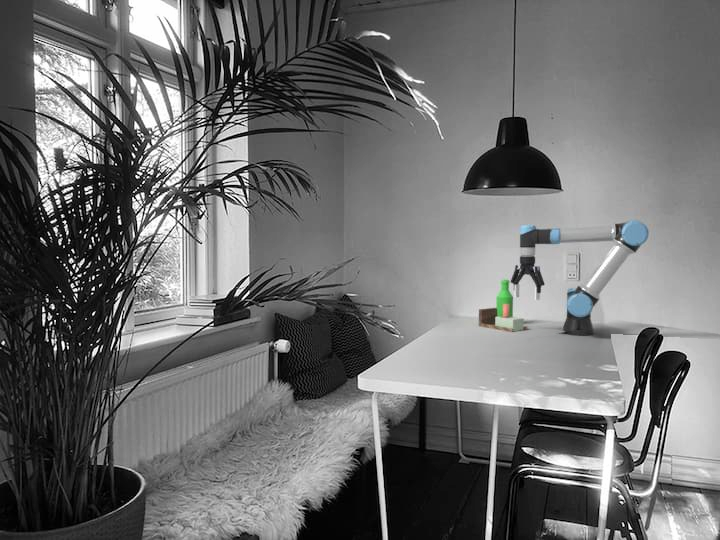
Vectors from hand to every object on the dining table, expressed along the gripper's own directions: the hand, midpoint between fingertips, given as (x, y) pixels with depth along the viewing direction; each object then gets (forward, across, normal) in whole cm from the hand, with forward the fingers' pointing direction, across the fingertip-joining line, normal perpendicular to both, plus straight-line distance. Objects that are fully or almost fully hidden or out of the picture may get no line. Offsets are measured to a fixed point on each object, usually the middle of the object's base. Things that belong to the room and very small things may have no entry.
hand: (526, 298), depth 321 cm
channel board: (+18, +16, 0) cm, 24 cm away
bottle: (+18, +28, -14) cm, 37 cm away
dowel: (+16, +14, 0) cm, 21 cm away
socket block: (+17, +11, 0) cm, 20 cm away
